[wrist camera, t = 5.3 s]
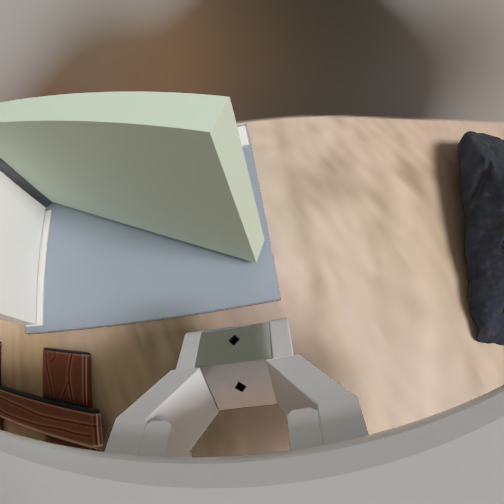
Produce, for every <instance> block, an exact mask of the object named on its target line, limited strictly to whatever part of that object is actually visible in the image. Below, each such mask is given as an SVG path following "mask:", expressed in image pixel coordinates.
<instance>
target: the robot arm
mask: <svg viewBox="0 0 504 504" xmlns="http://www.w3.org/2000/svg"><path fill="white" fill-rule="evenodd" d="M272 404H277V405H278V407H279V408H280V409H281V410H282V411H283V412H284V413H285V414H286V416H287V419H288V433H289V446H290V450H289V451H281V452H273V453H264V454H253V455H241V456H224V457H193V456H192V455H191V453H190V450H191V449H192V448H193V446H194V445H195V444H196V442H197V441H198V440H199V438H200V437H201V436H202V434H203V433H204V432H205V430H206V429H207V428H208V426H209V425H210V423H211V422H212V421H213V419H214V418H215V417H216V415H217V414H218V412H219V411H218V410H226V409H235V408H243V407H252V406H263V405H272ZM0 504H504V385H503V386H501V387H498V388H496V389H494V390H492V391H490V392H488V393H486V394H484V395H482V396H479V397H477V398H475V399H473V400H470V401H468V402H466V403H463V404H461V405H459V406H456V407H454V408H451V409H448V410H446V411H443V412H441V413H438V414H435V415H432V416H430V417H427V418H424V419H421V420H418V421H415V422H412V423H409V424H406V425H403V426H399V427H396V428H393V429H389V430H386V431H382V432H378V433H374V434H371V435H368V431H367V428H366V425H365V421H364V418H363V414H362V411H361V408H360V404H359V401H358V398H357V396H355V395H354V394H353V393H351V392H350V391H348V390H347V389H346V388H344V387H343V386H341V385H340V384H339V383H337V382H336V381H334V380H333V379H332V378H330V377H329V376H327V375H326V374H325V373H323V372H322V371H321V370H319V369H318V368H317V367H315V366H314V365H312V364H311V363H310V362H308V361H307V360H306V359H304V358H303V357H302V356H300V355H294V353H293V346H292V340H291V334H290V328H289V322H288V319H287V318H282V319H277V320H272V321H270V322H264V323H258V324H252V325H246V326H239V327H229V328H221V329H212V330H204V331H195V332H187V333H186V334H185V336H184V340H183V343H182V347H181V351H180V355H179V358H178V362H177V366H176V370H171V371H169V372H168V373H167V374H166V375H165V376H164V377H163V378H162V379H160V380H159V381H158V382H157V383H156V384H155V385H154V386H152V387H151V388H150V389H149V390H148V391H147V392H146V393H145V394H143V395H142V396H141V397H140V398H139V399H138V400H137V401H135V402H134V403H133V404H132V405H131V406H130V407H128V408H127V409H126V410H125V411H124V412H123V413H121V414H120V415H119V416H118V417H117V418H116V420H115V423H114V425H113V428H112V431H111V434H110V437H109V440H108V443H107V446H106V448H105V451H104V452H102V451H94V450H88V449H81V448H75V447H70V446H64V445H59V444H54V443H50V442H45V441H41V440H36V439H32V438H28V437H24V436H21V435H17V434H13V433H10V432H7V431H3V430H0Z"/></svg>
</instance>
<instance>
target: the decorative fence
mask: <svg viewBox="0 0 504 504" xmlns="http://www.w3.org/2000/svg"><path fill="white" fill-rule="evenodd" d="M1 344H2V343H1V342H0V430H3V431H4V429H3V418H4V419H6V420H9V421H11V422H14V423H16V424H19V425H21V426H24V427H26V428H29V429H32V430H35V431H38V432H40V433H43V434H46V442H50V443H54V444H59V445H64V446H70V447H75V448H81V449H88V450H94V451H95V449H99V448H101V447H102V446H103V436H102V422H101V413H100V411H99V410H97V409H92V399H91V355H90V353H85V352H74V351H65V350H56V349H48V348H44V350H43V398H42V397H38V396H34V395H31V394H27V393H24V392H20V391H17V390H14V389H10V388H7V387H4V386H1Z"/></svg>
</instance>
